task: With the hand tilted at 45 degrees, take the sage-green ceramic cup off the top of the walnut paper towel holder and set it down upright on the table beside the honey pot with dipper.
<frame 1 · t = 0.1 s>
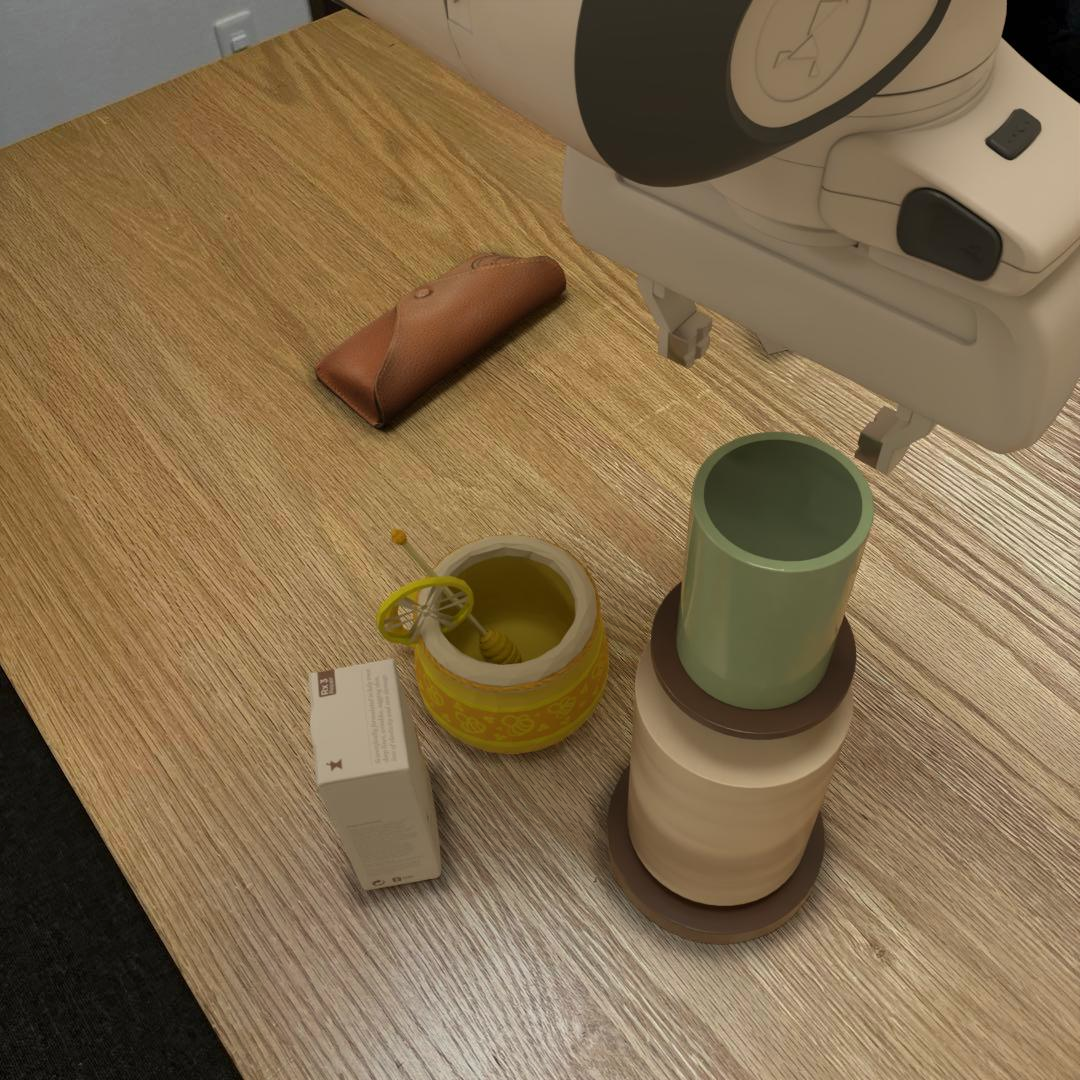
hand: (777, 404, 49), 23 cm above the table, tool pointing down, fingers open, 8 cm apart
sunglasses case: (441, 340, 85), on the table
platform: (793, 258, 89), on the table
honey pot with dipper: (498, 676, 68), on the table
cup: (752, 642, 47), point 19 cm above the table, touching holder
cosmetic box: (395, 832, 63), on the table
holder: (712, 838, 62), on the table
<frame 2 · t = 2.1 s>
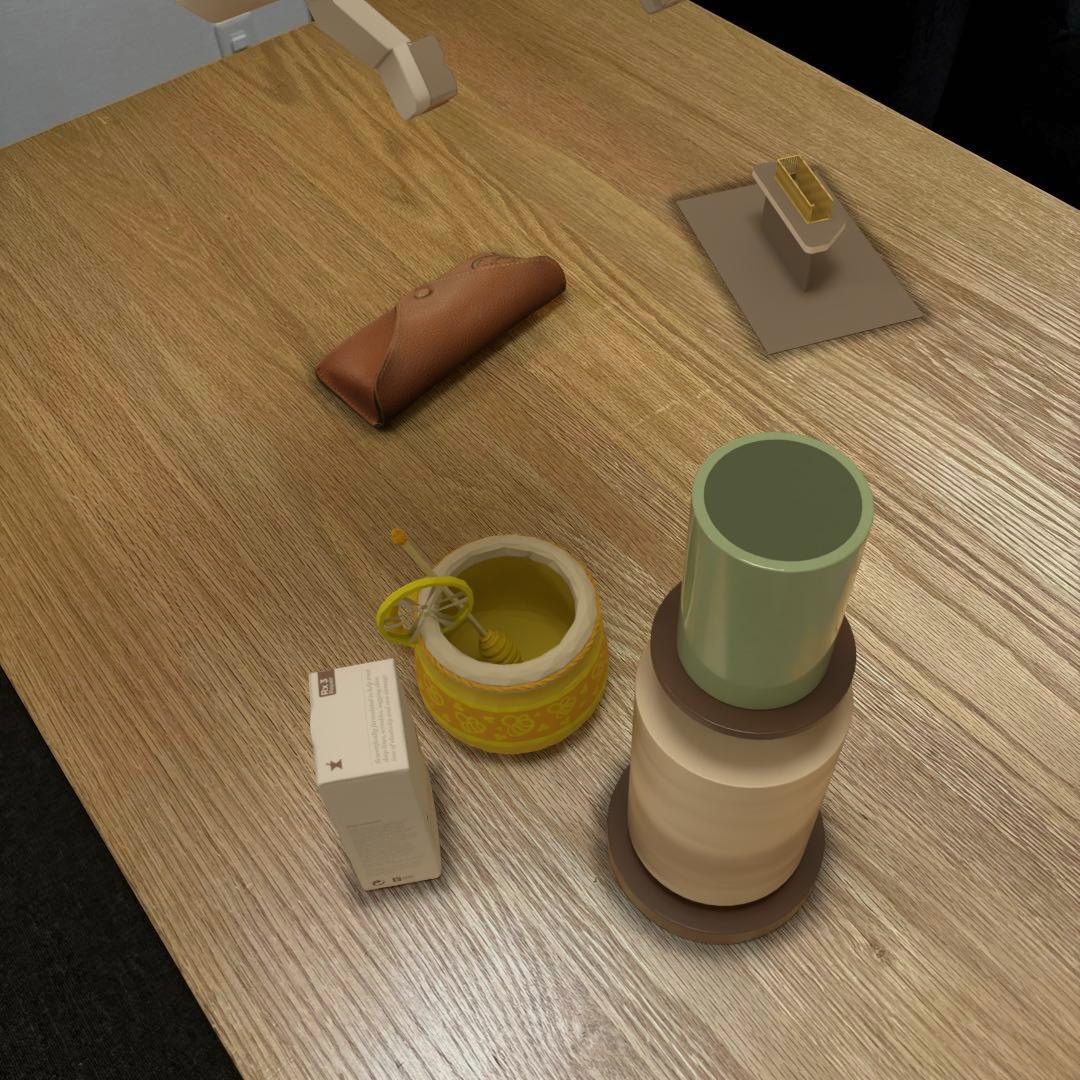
hand: (559, 53, 37), 38 cm above the table, tool tilted 45°, fingers open, 8 cm apart
nothing on the table moved.
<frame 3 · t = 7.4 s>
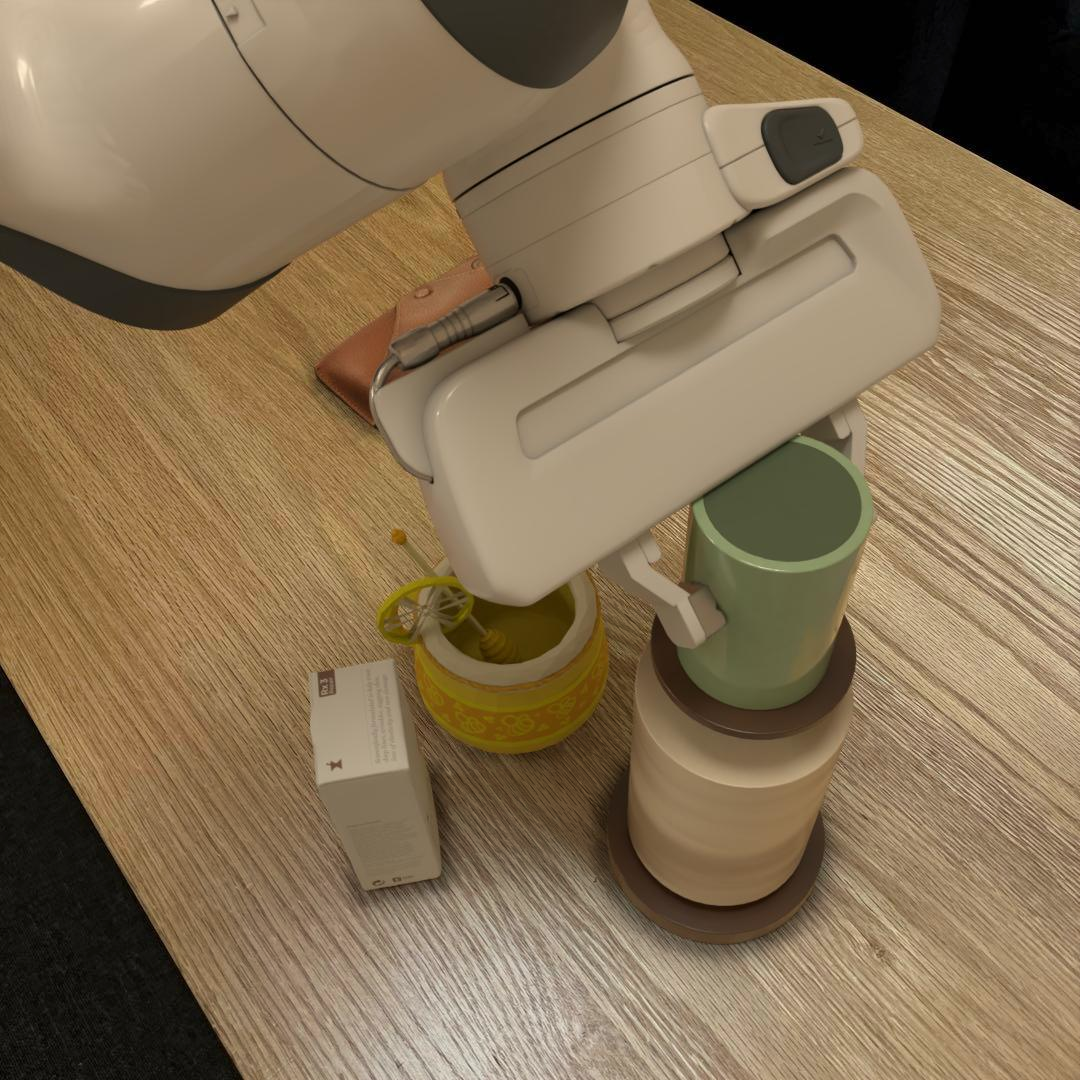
hand: (779, 583, 43), 24 cm above the table, tool tilted 45°, fingers closed on cup, 6 cm apart
cup: (752, 643, 47), point 19 cm above the table, touching gripper, holder
everything else where it was.
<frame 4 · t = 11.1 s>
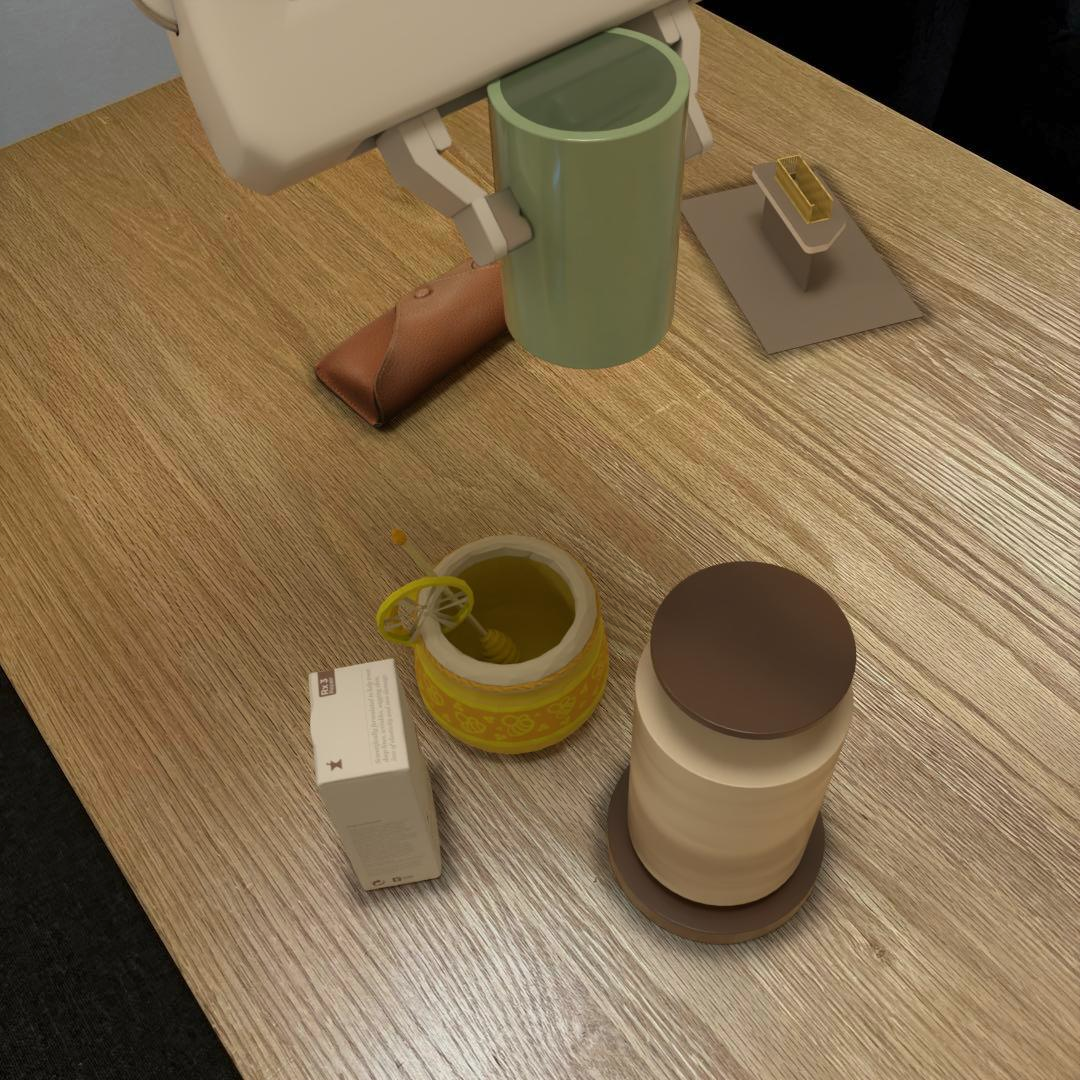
hand: (601, 207, 38), 35 cm above the table, tool tilted 45°, fingers closed on cup, 6 cm apart
cup: (589, 310, 42), point 30 cm above the table, touching gripper
everything else where it was.
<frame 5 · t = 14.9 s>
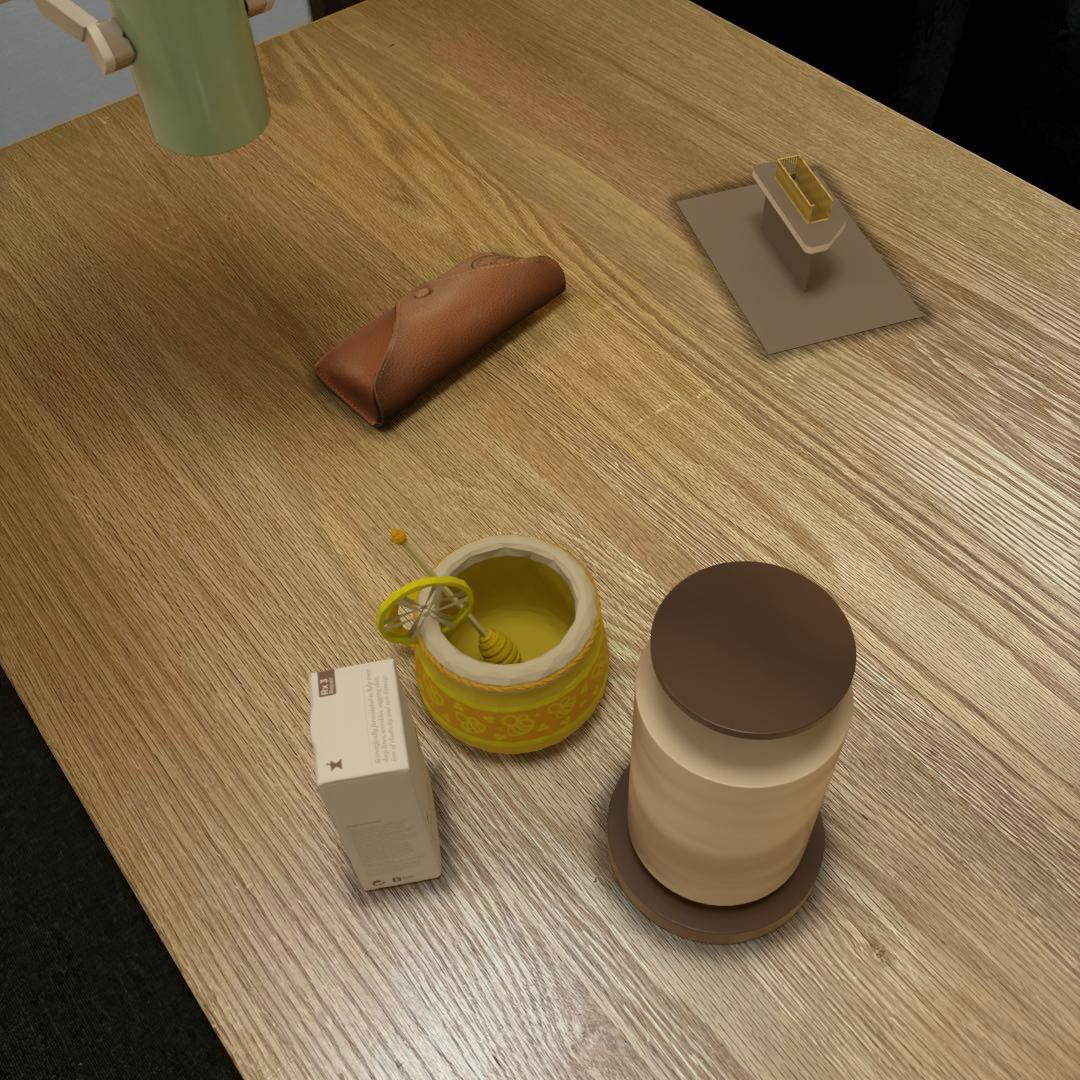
hand: (192, 37, 56), 29 cm above the table, tool tilted 45°, fingers closed on cup, 6 cm apart
cup: (211, 120, 60), point 24 cm above the table, touching gripper
everything else where it was.
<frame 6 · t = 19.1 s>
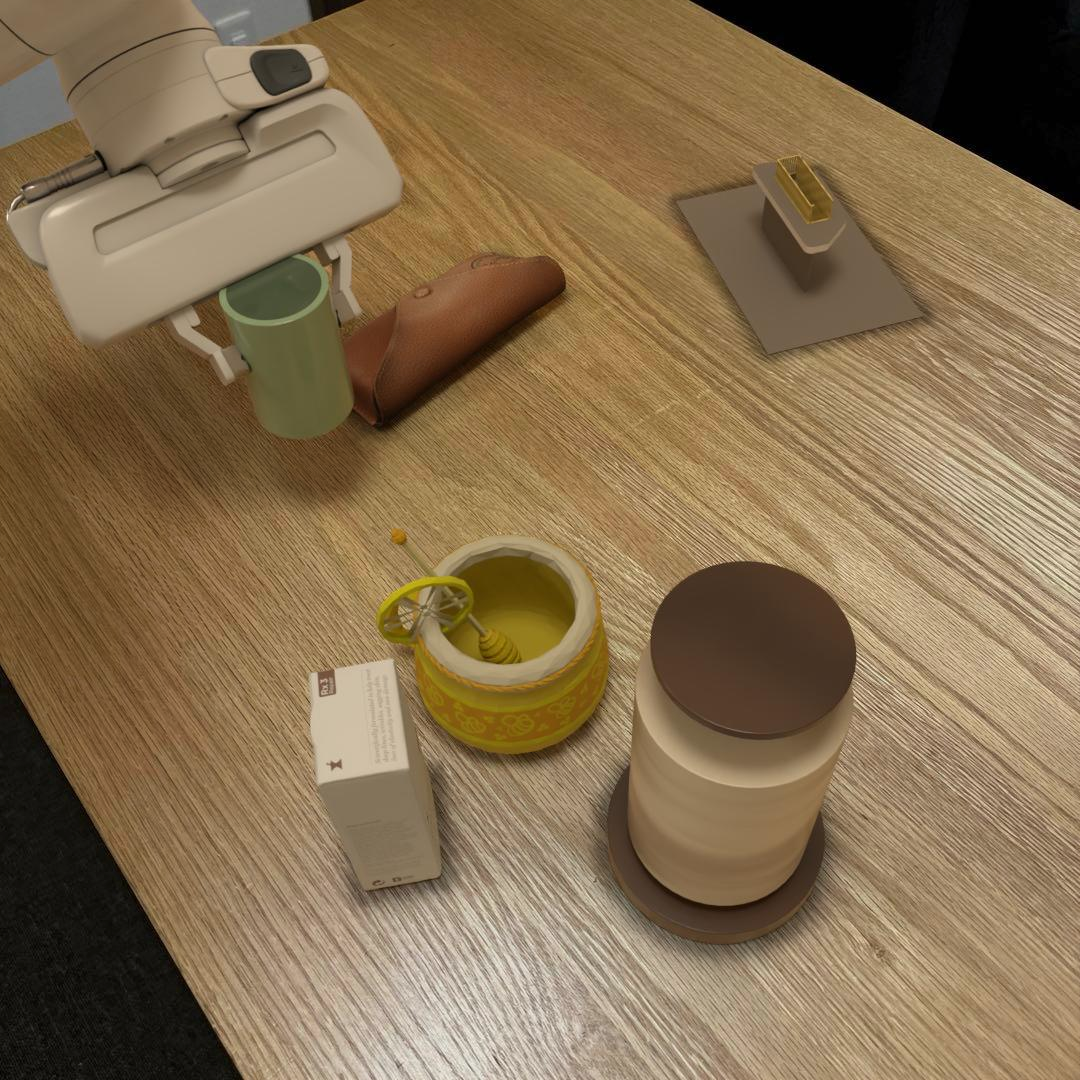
hand: (295, 350, 68), 12 cm above the table, tool tilted 45°, fingers closed on cup, 6 cm apart
cup: (305, 402, 72), point 7 cm above the table, touching gripper
everything else where it was.
when the fingers open (5 cm above the table, at t = 22.6 s): cup stays where it is, on the table.
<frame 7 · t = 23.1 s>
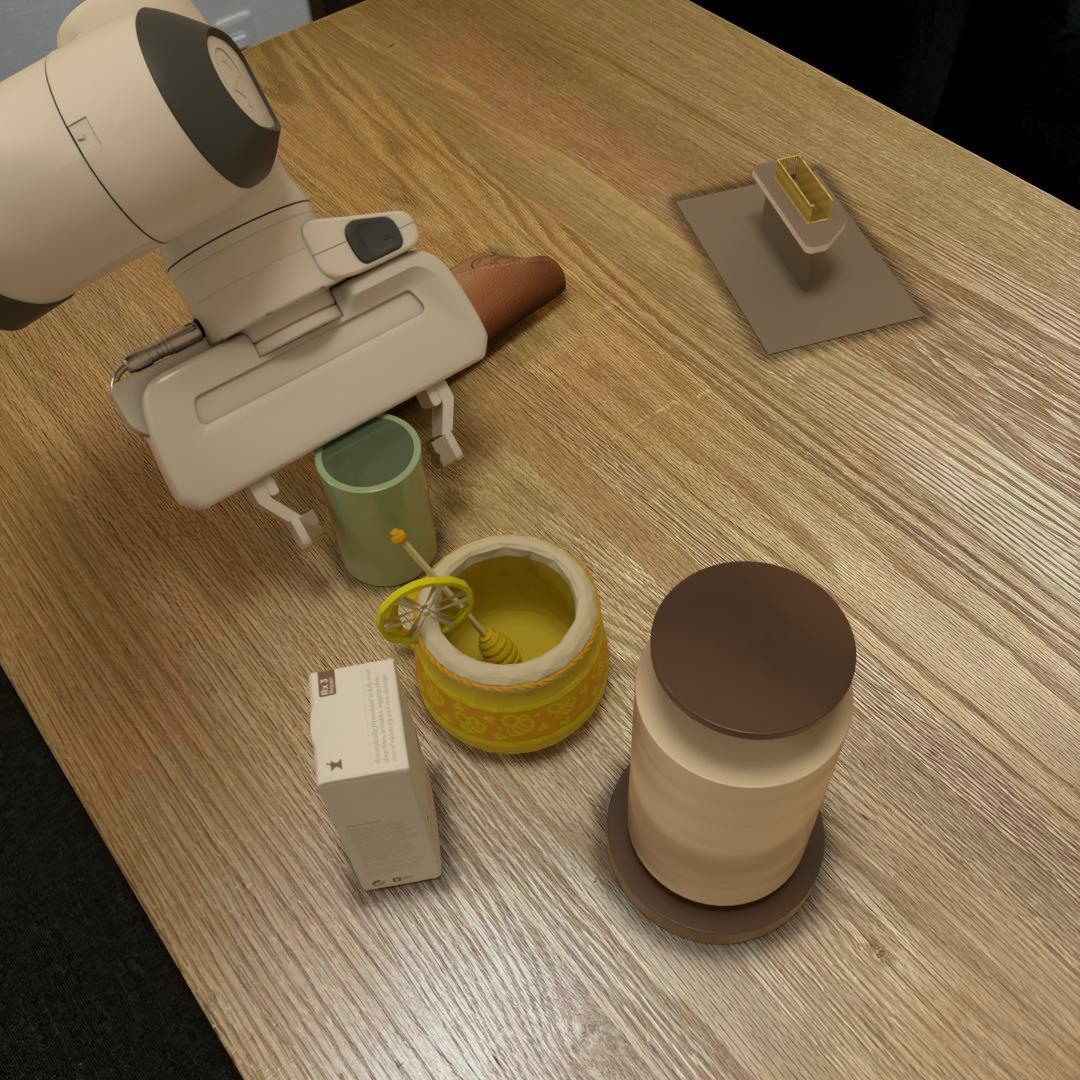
hand: (383, 502, 70), 5 cm above the table, tool tilted 45°, fingers open, 8 cm apart
cup: (389, 547, 74), on the table
everything else where it was.
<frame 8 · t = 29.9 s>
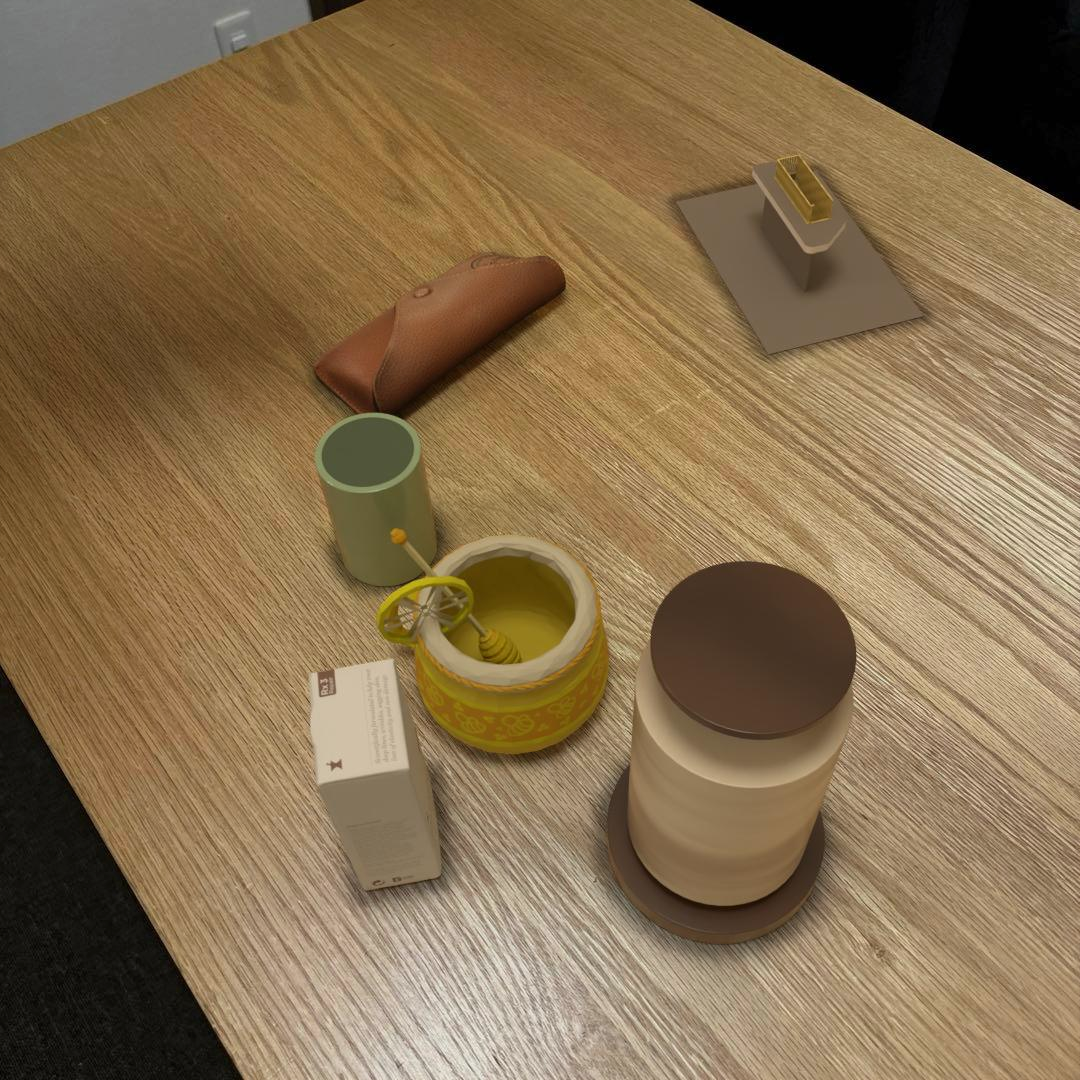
nothing on the table moved.
at the end: cup 11.6 cm from the honey pot with dipper (horizontally); cup on the table; cup tilted 0° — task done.
